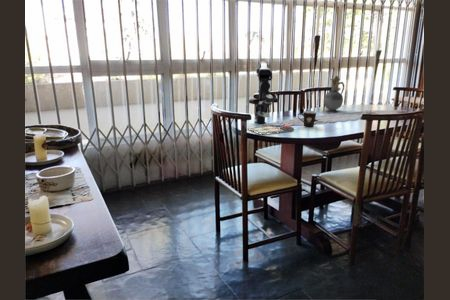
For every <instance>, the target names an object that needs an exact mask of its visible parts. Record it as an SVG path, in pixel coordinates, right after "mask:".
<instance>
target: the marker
mask: <svg viewBox="0 0 450 300" xmlns="http://www.w3.org/2000/svg"><path fill="white" fill-rule="evenodd" d="M258 115H259V116H262V117H265V118H270V113H269V112H268V113H266V112H262V114H260V111H258Z"/></svg>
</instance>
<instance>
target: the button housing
mask: <svg viewBox="0 0 450 300" xmlns="http://www.w3.org/2000/svg"><path fill="white" fill-rule="evenodd" d="M279 129H281V130H284V131H290V132H294V130H295V128H294V127H291V128H289V129H285V128H283V126H279Z"/></svg>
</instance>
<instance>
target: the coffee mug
mask: <svg viewBox="0 0 450 300" xmlns="http://www.w3.org/2000/svg"><path fill="white" fill-rule="evenodd" d="M300 115H301V116H302V117H303V119H301V118H300V117H299V116H300ZM316 115H317V112H316V111H313V110H312V111H311V110H304V111H303V113H298V114H297V118H298V119H299V120H300V121H301V122H302V123H303V127H304V126H305V128H314V127H315V121H316Z"/></svg>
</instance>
